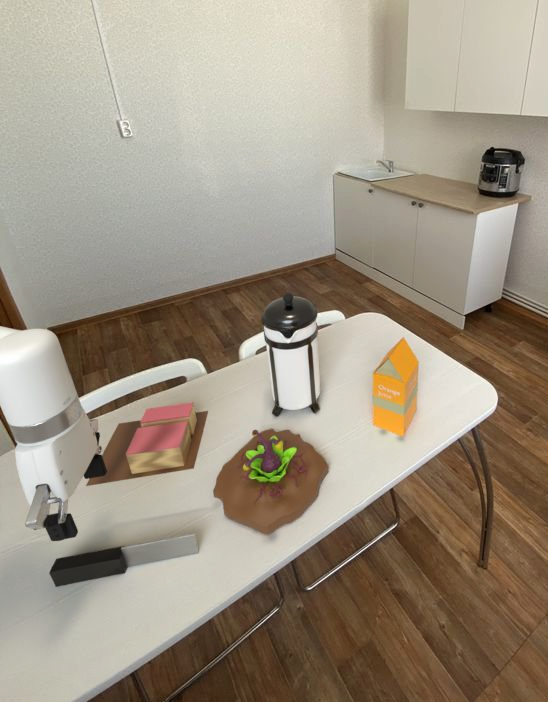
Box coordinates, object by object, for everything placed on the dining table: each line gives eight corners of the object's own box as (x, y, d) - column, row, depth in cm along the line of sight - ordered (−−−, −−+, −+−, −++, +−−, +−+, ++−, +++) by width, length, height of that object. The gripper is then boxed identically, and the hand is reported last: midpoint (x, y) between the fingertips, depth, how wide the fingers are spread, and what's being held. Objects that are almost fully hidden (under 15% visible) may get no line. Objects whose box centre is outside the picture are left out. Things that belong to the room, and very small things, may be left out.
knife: (55, 587, 60) (47, 568, 58) (62, 572, 61) (54, 554, 60) (197, 558, 63) (192, 540, 61) (199, 545, 65) (195, 527, 63)
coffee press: (341, 395, 98) (337, 290, 87) (291, 432, 87) (279, 317, 77) (299, 366, 109) (291, 270, 99) (250, 396, 98) (235, 291, 88)
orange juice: (416, 410, 93) (420, 340, 86) (403, 437, 85) (406, 362, 78) (387, 400, 96) (388, 332, 89) (372, 424, 89) (371, 352, 82)
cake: (86, 489, 75) (77, 465, 72) (119, 426, 89) (113, 404, 87) (194, 472, 78) (189, 448, 76) (209, 413, 93) (204, 392, 91)
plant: (273, 556, 63) (266, 508, 59) (199, 496, 73) (189, 452, 69) (342, 465, 79) (340, 423, 75) (273, 426, 89) (269, 387, 85)
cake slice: (145, 441, 84) (140, 422, 82) (151, 427, 88) (146, 408, 86) (193, 434, 86) (189, 415, 84) (197, 421, 89) (193, 402, 88)
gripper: (52, 379, 60) (82, 460, 66) (-32, 477, 44) (18, 573, 50) (104, 372, 61) (129, 452, 67) (41, 465, 45) (81, 560, 51)
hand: (82, 504), depth 58 cm, fingers open, 9 cm apart
